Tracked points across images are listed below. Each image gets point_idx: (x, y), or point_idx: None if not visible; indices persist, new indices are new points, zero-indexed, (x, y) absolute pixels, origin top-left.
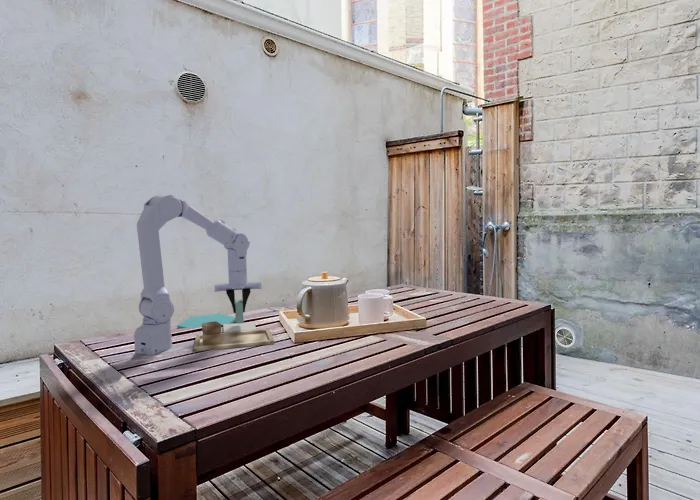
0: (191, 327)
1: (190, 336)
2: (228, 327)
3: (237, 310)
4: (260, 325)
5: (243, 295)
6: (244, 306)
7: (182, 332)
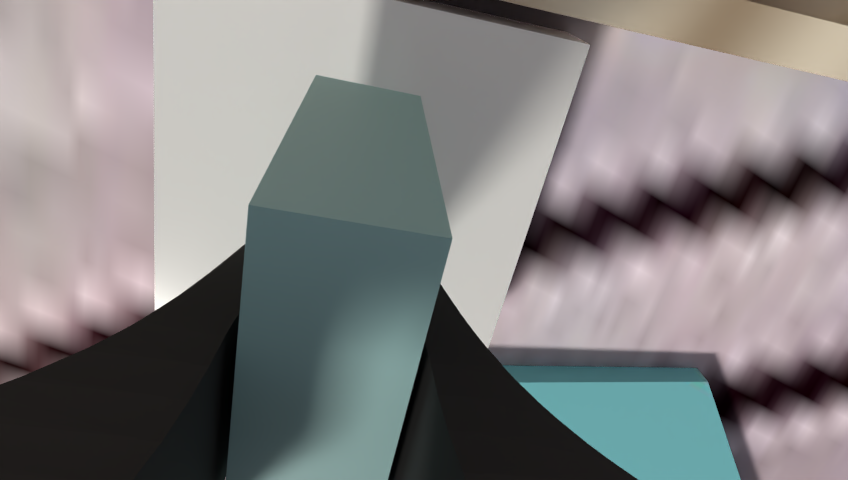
0: (701, 453)
1: (786, 272)
2: (472, 226)
3: (402, 160)
4: (106, 331)
5: (132, 446)
6: (219, 283)
7: (774, 406)
